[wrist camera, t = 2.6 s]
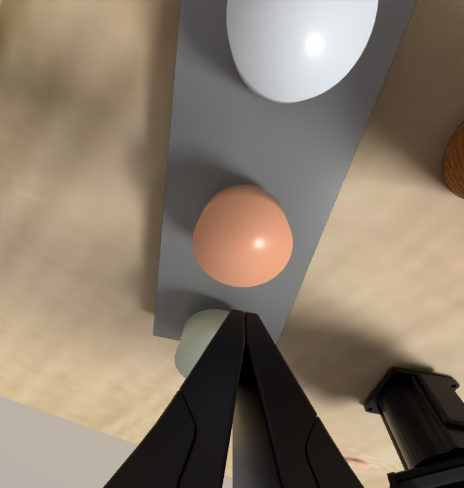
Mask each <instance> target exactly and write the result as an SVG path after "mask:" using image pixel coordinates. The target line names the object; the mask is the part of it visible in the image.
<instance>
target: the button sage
mask: <svg viewBox="0 0 464 488" xmlns="http://www.w3.org/2000/svg"><path fill="white" fill-rule="evenodd" d="M228 314H229V311H225V310H220V309H207V310H203V311H200V312H197V313H195V314H194V315H192V316H191V317H190V318H189V319H188V320H187V322H186V323H185V326H184V329H183V332H182V335H181V339H180V342H179V345H178V348H177V352H176V355H175V364H176V367H177V369H178V371H179V372H180V373H181V374H182V375H183V376H184V377H185V378H187V376H188V375H189V373H190V372H191V370H192V369H193V367H194V366H195V364H196V363H197V361H198V360H199V358H200V356H201V355H202V353H203V352H204V350H205V349H206V347H207V346H208V344H209V343H210V341H211V340H212V338H213V337H214V335H215V334H216V332H217V330H218V329H219V327H220V326H221V324H222V323H223V321H224V320H225V318H226V317H227V315H228Z"/></svg>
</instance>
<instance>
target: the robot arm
mask: <svg viewBox="0 0 464 488" xmlns="http://www.w3.org/2000/svg"><path fill="white" fill-rule="evenodd" d="M458 387H459V384H458V382H457V381H456V380H455V379H452V378H447V377H442V376H436V375H431V374H426V373H421V372H416V371H411V370H406V369H400V368H393V369H391V370H390V371H389V372H388V373H387V375H386V376H385V377H384V379H383V380H382V381H381V383H380V384H379V385H378V387H377V388H376V389H375V391H374V392H373V393H372V395H371V396H370V397H369V399H368V400H367V401H366V402H365V404H364V408H365V411H366V412H370V413H375V414H380V415H381V417H382V419H383V422H384V424H385V426H386V428H387V431H388V433H389V435H390V437H391V440H392V442H393V444H394V447H395V449H396V451H397V453H398V456H399V458H400V460H401V462H402V465H403V467H404V469H405V470H404V471H401V472H397V473H394V472H391V473H387V476H388V480H389V483H390V486H389V487H390V488H464V403H463V402H462V400H461V399H460V398H459V396H458V395H457V394H456V392H455V390H456V389H457V388H458ZM316 416H317V413H316V411H315V410H314V408H313V406H312V405H311V403H310V401H309V400H308V398H307V396H306V394H305V393H304V391H303V389H302V388H301V386H300V384H299V383H298V381H297V379H296V378H295V376H294V374H293V373H292V371H291V369H290V367H289V366H288V364H287V362H286V361H285V359H284V357H283V356H282V354H281V352H280V351H279V349H278V347H277V346H276V344H275V342H274V340H273V339H272V337H271V335H270V334H269V332H268V330H267V329H266V327H265V325H264V324H263V322H262V320H261V318H260V317H259V315H258V314H257V313H253V312H248V311H246V312H245V313H244V311H243V310H238V309H231V311H230V312H229V314H228V315H227V317H226V318H225V320H224V321H223V323H222V324H221V326H220V327H219V329H218V330H217V332H216V334H215V335H214V337H213V338H212V340H211V341H210V343H209V344H208V346H207V347H206V349H205V350H204V352H203V353H202V355H201V356H200V358H199V360H198V361H197V363H196V364H195V366H194V367H193V369H192V370H191V372H190V373H189V375H188V376H187V378H186V379H185V381H184V382H183V384H182V386H181V387H180V389H179V391H177V393H176V394H175V396H174V397H173V399H172V400H171V402H170V404H169V405H168V406H167V408H166V409H165V411H164V412H163V414H162V415H161V416H160V418H159V419H158V421H157V422H156V424H155V425H154V426H153V427H152V429H151V430H150V431H149V432H148V434H147V435H146V436H145V437H144V439H143V440H142V441H141V443H140V444H139V445H138V446H137V448H136V449H135V450H134V451H133V452H132V454H131V455H130V456H129V457H128V458H127V459H126V461H125V462H124V463H123V464H122V465H121V467H120V468H119V469H118V470H117V472H116V473H115V474H114V475H113V476H112V478H111V479H110V480H109V481H108V482H107V484H106V485H105V486H104V487H103V488H222V485H223V479H224V473H225V466H226V460H227V454H228V448H229V442H230V436H231V429H232V423H233V488H364V487H363V485H362V484H361V482H360V481H359V479H358V478H357V476H356V475H355V473H354V472H353V470H352V469H351V468H350V466H349V465H348V463H347V462H346V460H345V459H344V457H343V456H342V454H341V452H340V451H339V449H338V448H337V446H336V444H335V443H334V441H333V439H332V438H331V436H330V435H329V433H328V431H327V430H326V428H325V426H324V425H323V423H322V421H321V420H320V418H319V417H316Z"/></svg>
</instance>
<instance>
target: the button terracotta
mask: <svg viewBox="0 0 464 488" xmlns="http://www.w3.org/2000/svg"><path fill="white" fill-rule="evenodd" d="M192 244H193V251H194V255H195V257H196V260H197V262H198V263H199V265H200V266H201V268H202V269H203V270H204V271H205V272H206V273H207V274H208V275H209V276H210V277H212V278H213V279H215V280H217V281H219V282H221V283H223V284H226V285H229V286H234V287H252V286H257V285H260V284H263V283H266V282H268V281H270V280H271V279H273V278H274V277H276V276H277V275H278V274H279V273H280V272H281V271H282V270H283V269H284V268H285V266H286V265H287V263H288V261H289V259H290V257H291V253H292V248H293V238H292V233H291V230H290V227H289V224H288V221H287V219H286V216H285V213H284V211H283V208H282V206H281V205H280V203H279V202H278V200H277V199H276V198H275V197H274V196H273V195H272V194H270V193H269V192H267V191H266V190H264V189H262V188H259V187H256V186H253V185H234V186H230V187H227V188H225V189H223V190H221V191H219V192H218V193H216V194H215V195H214V196H213V197H212V198H211V199H210V200H209V201H208V203H207V204H206V206H205V208H204V210H203V212H202V214H201V216H200V218H199V220H198V222H197V224H196V227H195V229H194V233H193V240H192Z"/></svg>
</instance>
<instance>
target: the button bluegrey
mask: <svg viewBox="0 0 464 488" xmlns="http://www.w3.org/2000/svg"><path fill="white" fill-rule="evenodd" d="M377 7H378V0H227V11H226V12H227V32H228V38H229V43H230V48H231V51H232V55H233V59H234V62H235V65H236V68H237V71H238V73H239V75H240V77H241V78H242V80H243V82H244V83H245V84H246V85H247V87H248V88H249V89H250V90H251V91H252V92H253V93H254V94H256V95H257V96H259V97H260V98H262V99H264V100H266V101H269V102H272V103H277V104H290V103H296V102H299V101H303V100H306V99H309V98H313V97H315V96H317V95H320V94H322V93H324V92H325V91H327V90H329V89H330V88H332V87H333V86H334V85H336V84H337V83H338V82H339V81H340V80H341V79H342V78H343V77H345V76H346V75H347V73H348V72H349V71H350V70H351V69H352V67H353V66H354V65H355V63H356V62H357V60H358V59H359V57H360V56H361V54H362V52H363V50H364V48H365V47H366V44H367V42H368V40H369V37H370V35H371V32H372V29H373V26H374V22H375V18H376V13H377Z"/></svg>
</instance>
